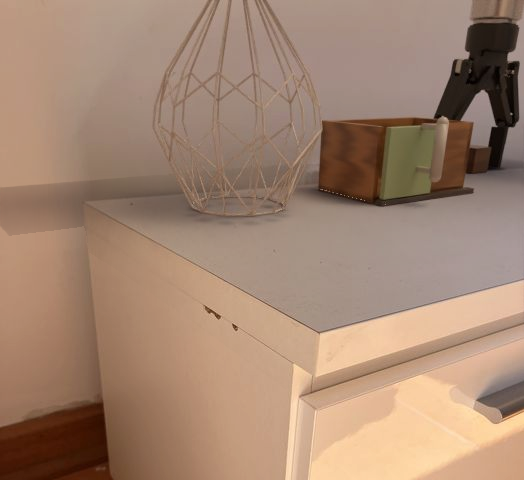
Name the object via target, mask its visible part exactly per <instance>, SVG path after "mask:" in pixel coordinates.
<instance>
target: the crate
mask: <svg viewBox="0 0 524 480" xmlns="http://www.w3.org/2000/svg"><path fill="white" fill-rule="evenodd" d="M437 120H438V119H433V118H432V117H431V118H430V117H419V116H404V117H403V116H402V117H401V116H400V117H380V118H379V117H376V118H352V119H350V118H348V119H324V120H323V119H322V129H323V130H322V132H321V135H320V148H319V164H318V182H317V183H318V184H317V187H318V188H319V189H318V188H317V190H318V191H320V192H323V193H324V192H325V193H328V194H331V195H336V196H339V197H344V198H348V199H352V200H355V201H360V202H364V203H367V204H371V205H372V204H374V205H375V206H379V207H386V206H387V207H388V206H394V205H401V204H407V203H414V202H422V201H428V200H434V199H441V198H447V197H454V196H463V195H467V194H474V192H475V188H473V187H468V186H465V187H464V185H465V179H466V174H467V173H466V167H467V161H468V155H469V149H470V145H471V143H472V136H473V129H474V126H475V125H474V124H475V122H474V121H464V120H461V121H455V120H449V126H448V133H447V140H446V147H445V154H444V161H443V167H442V174H441V179H440V180H439V181H438V182H432V181H431V188H430V193H429V194H422V195H414V196H407V197H400V198H393V199H386V200H382V199H379V197H380V187H381V178H382V168H383V158H384V148H385V139H386V129H387V127H400V126H421V125H422V123H427V124H436V123H437ZM320 189H323V190H320ZM324 190H327V191H324ZM328 191H330V192H328ZM332 192H334V193H332ZM336 193H338V194H336ZM340 194H342V195H340ZM344 195H345V196H344ZM348 196H349V197H348ZM352 197H353V198H352ZM356 198H357V199H356ZM360 199H362V200H360ZM364 200H365V201H364ZM385 204H386V205H385Z"/></svg>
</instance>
